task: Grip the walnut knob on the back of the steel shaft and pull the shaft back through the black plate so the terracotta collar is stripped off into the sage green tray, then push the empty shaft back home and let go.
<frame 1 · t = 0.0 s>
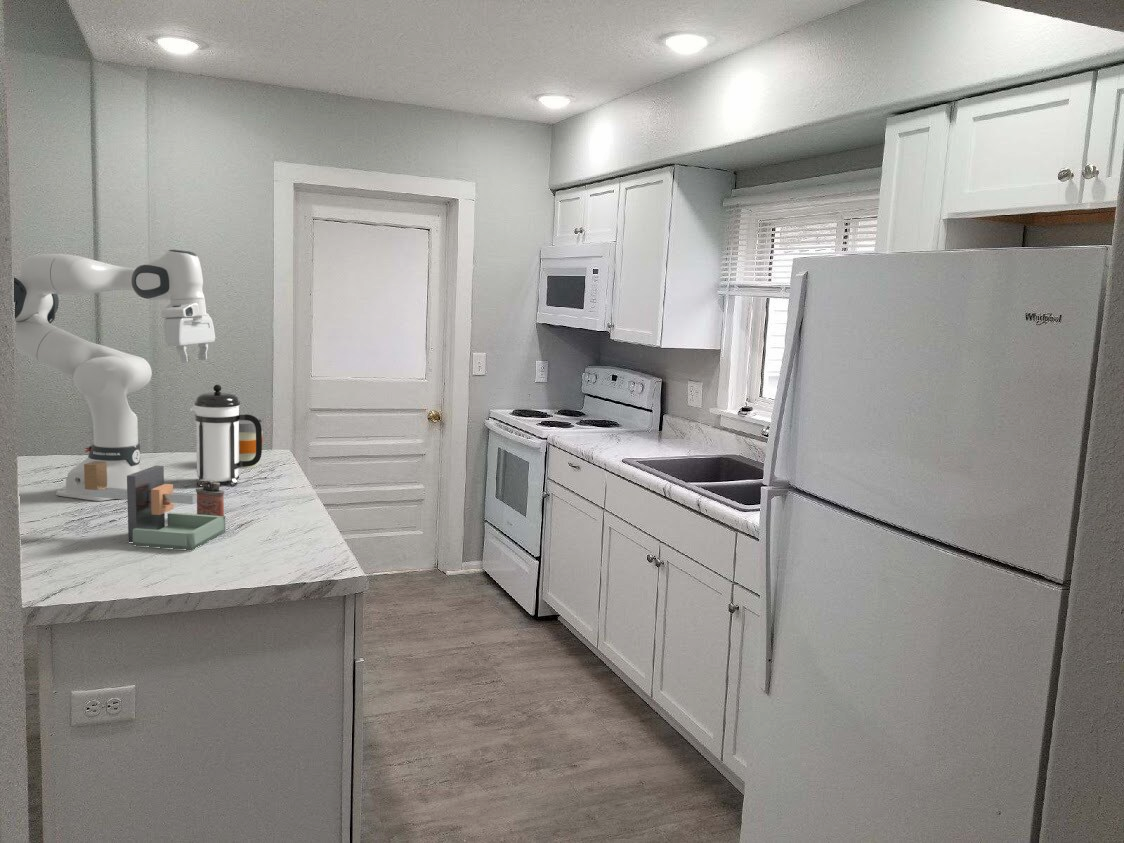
hand: (194, 361, 239), 39 cm above the countertop, tool pointing down, fingers open, 8 cm apart
shaft: (142, 482, 206), point 13 cm above the countertop, slide at 0.0 cm, touching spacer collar
bearing plate: (147, 536, 208), on the countertop
lighter: (210, 519, 226), on the countertop
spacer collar: (162, 511, 207), point 6 cm above the countertop, touching shaft
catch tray: (180, 539, 208), on the countertop
coffee press: (222, 482, 266), on the countertop
reusable coffee cup: (244, 465, 291), on the countertop
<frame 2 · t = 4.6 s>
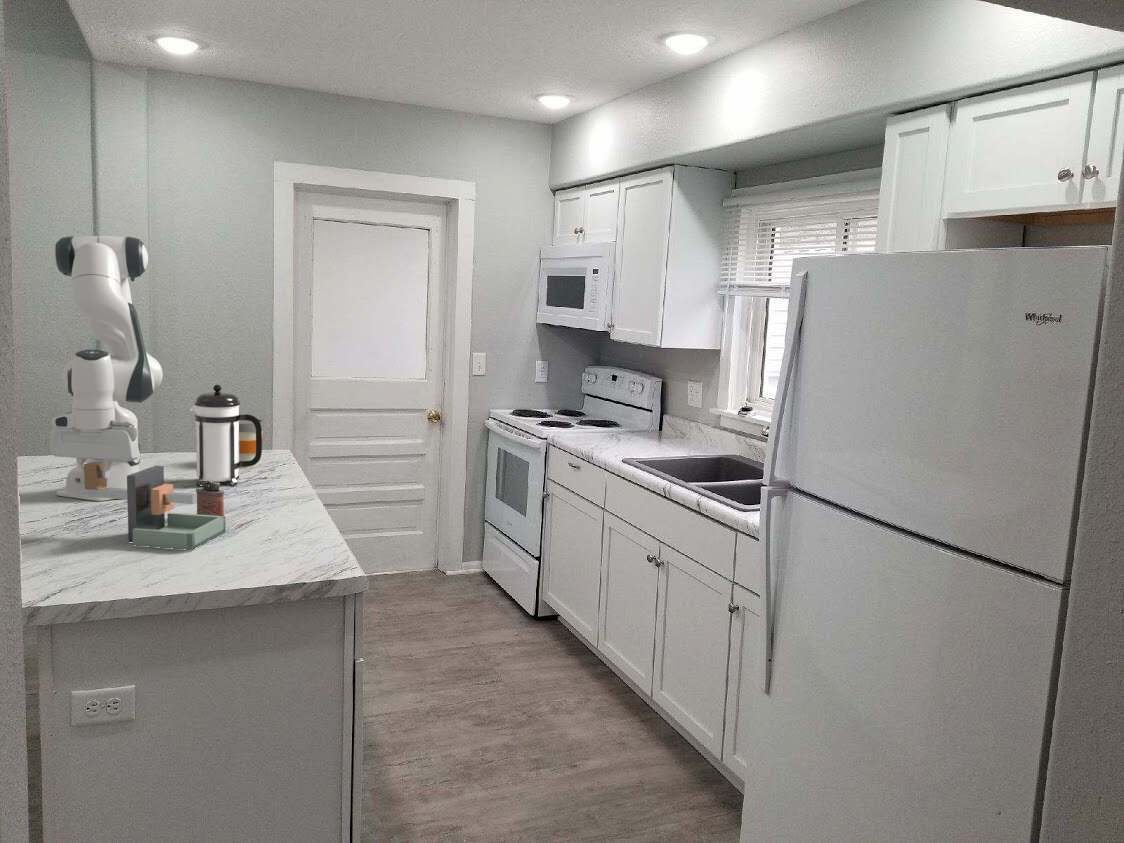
hand: (95, 477, 207), 14 cm above the countertop, tool pointing down, fingers closed on shaft, 3 cm apart
shaft: (141, 482, 206), point 13 cm above the countertop, slide at 0.0 cm, touching gripper, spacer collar
everything else where it was.
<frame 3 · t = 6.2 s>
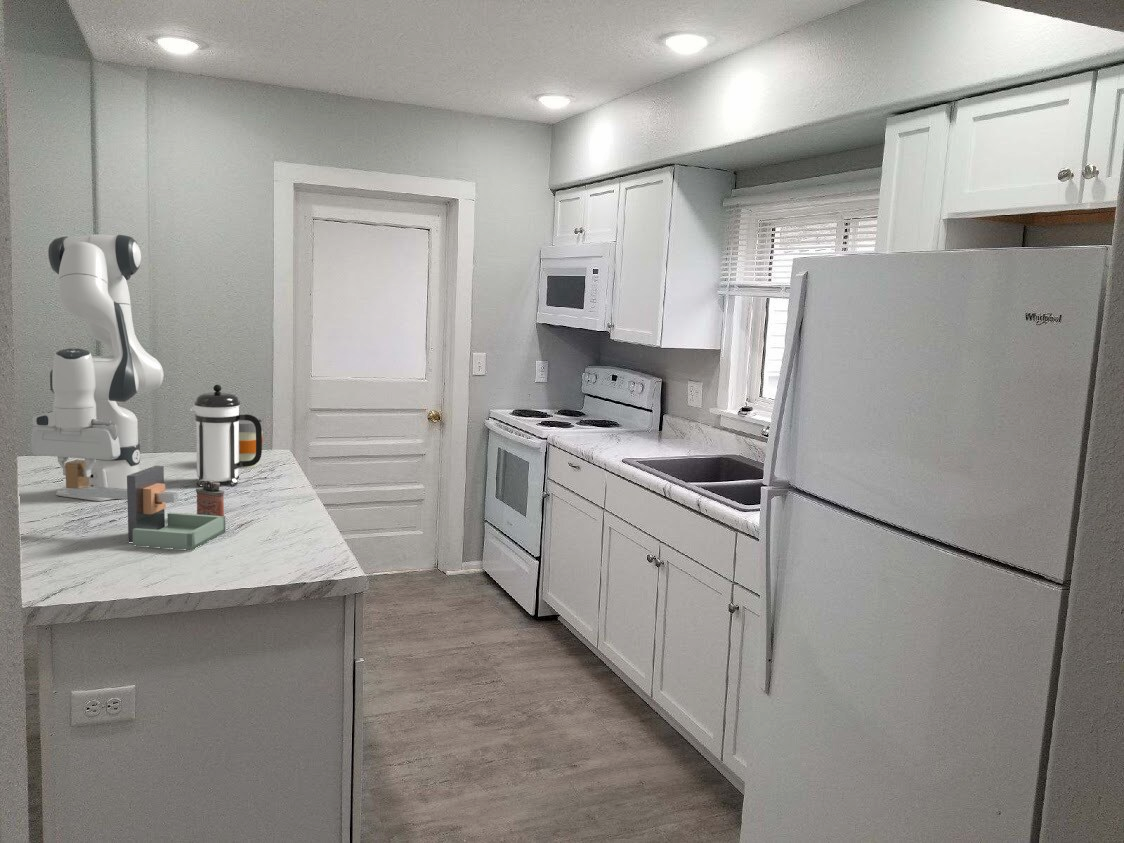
hand: (77, 475, 208), 14 cm above the countertop, tool pointing down, fingers closed on shaft, 3 cm apart
shaft: (123, 481, 207), point 13 cm above the countertop, slide at 4.7 cm, touching gripper
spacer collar: (154, 510, 207), point 6 cm above the countertop, touching bearing plate
everything else where it was.
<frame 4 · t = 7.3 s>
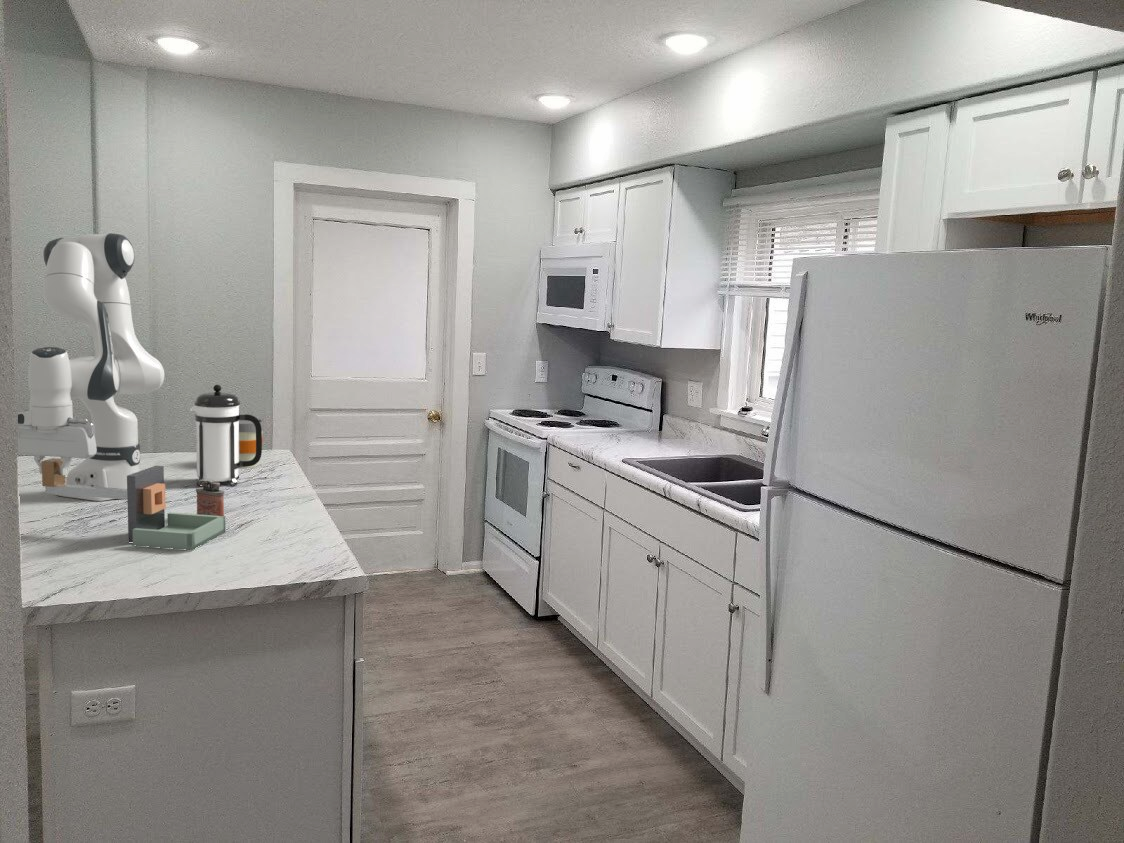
hand: (53, 474, 208), 14 cm above the countertop, tool pointing down, fingers closed on shaft, 3 cm apart
shaft: (99, 479, 207), point 13 cm above the countertop, slide at 10.6 cm, touching gripper, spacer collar
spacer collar: (154, 510, 207), point 6 cm above the countertop, touching shaft
everything else where it was.
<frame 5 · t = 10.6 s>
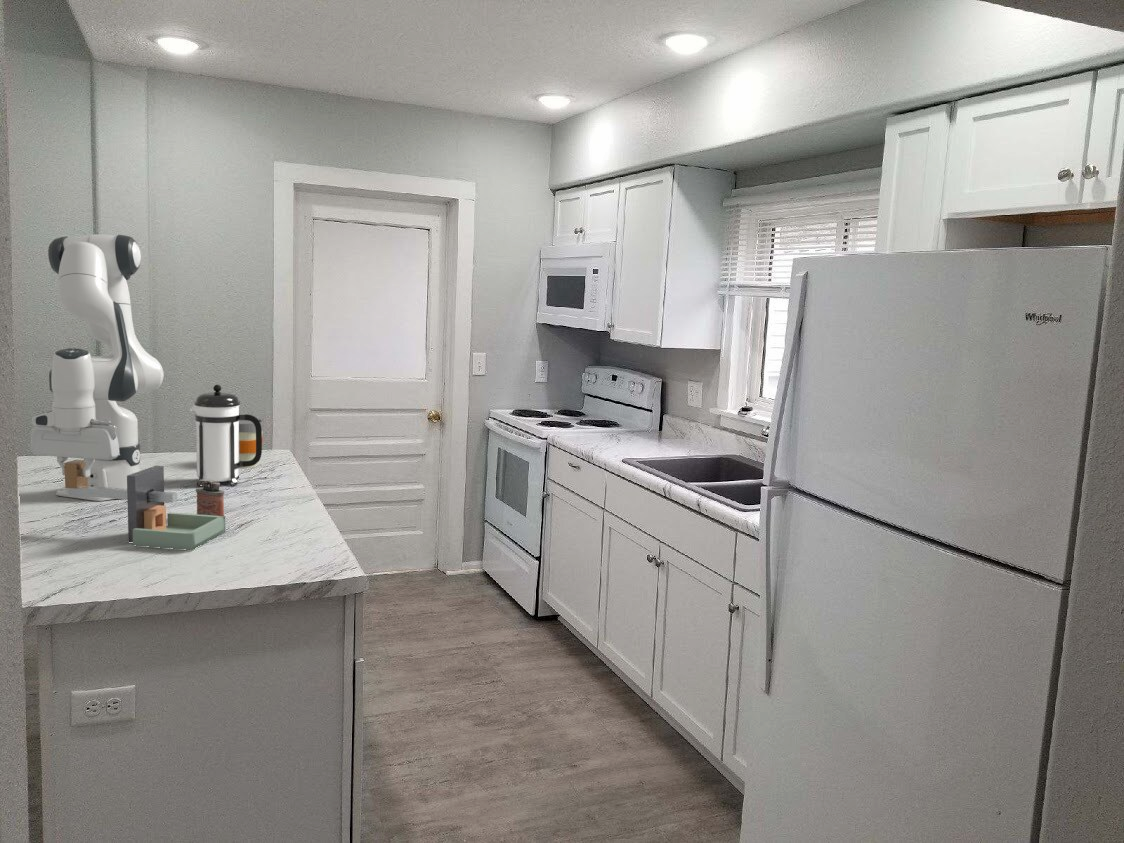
hand: (76, 475, 208), 14 cm above the countertop, tool pointing down, fingers closed on shaft, 3 cm apart
shaft: (122, 481, 207), point 13 cm above the countertop, slide at 4.9 cm, touching gripper
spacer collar: (155, 533, 208), point 1 cm above the countertop, touching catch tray
everything else where it was.
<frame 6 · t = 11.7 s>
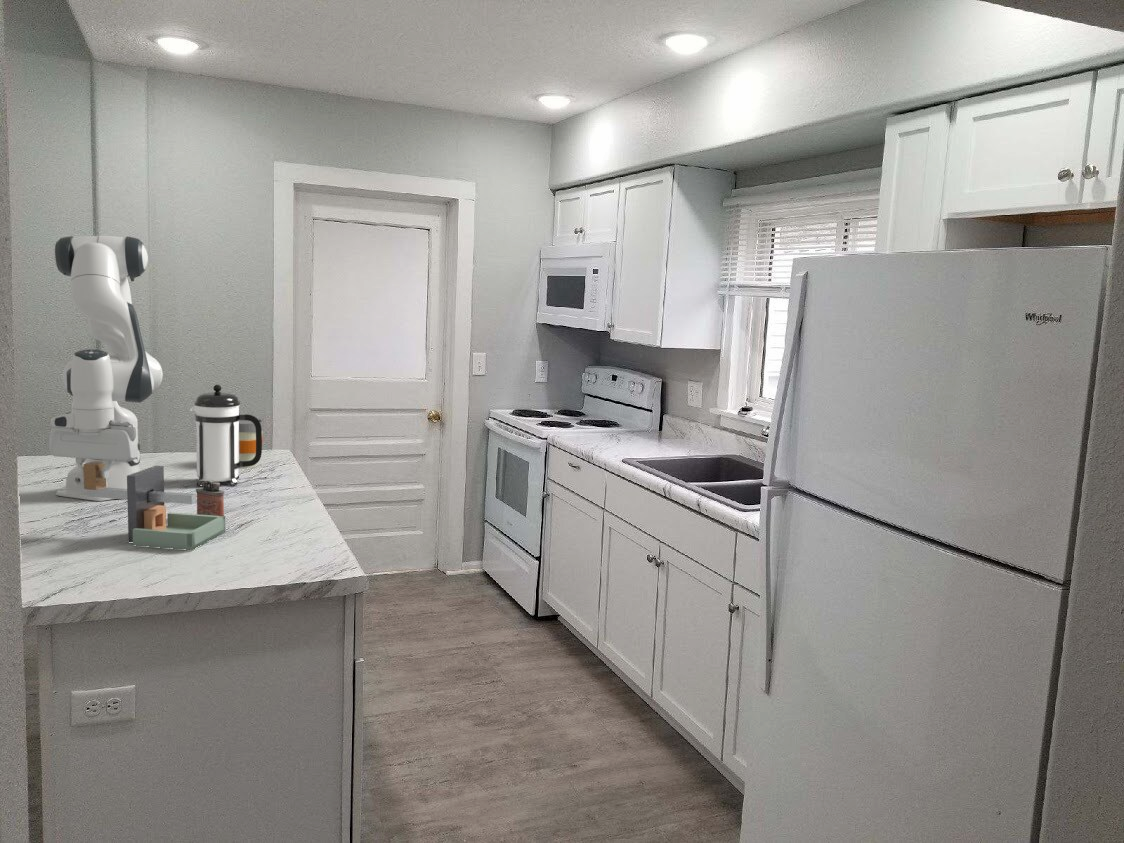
hand: (95, 477, 207), 14 cm above the countertop, tool pointing down, fingers closed on shaft, 3 cm apart
shaft: (141, 482, 206), point 13 cm above the countertop, slide at 0.2 cm, touching gripper
everything else where it was.
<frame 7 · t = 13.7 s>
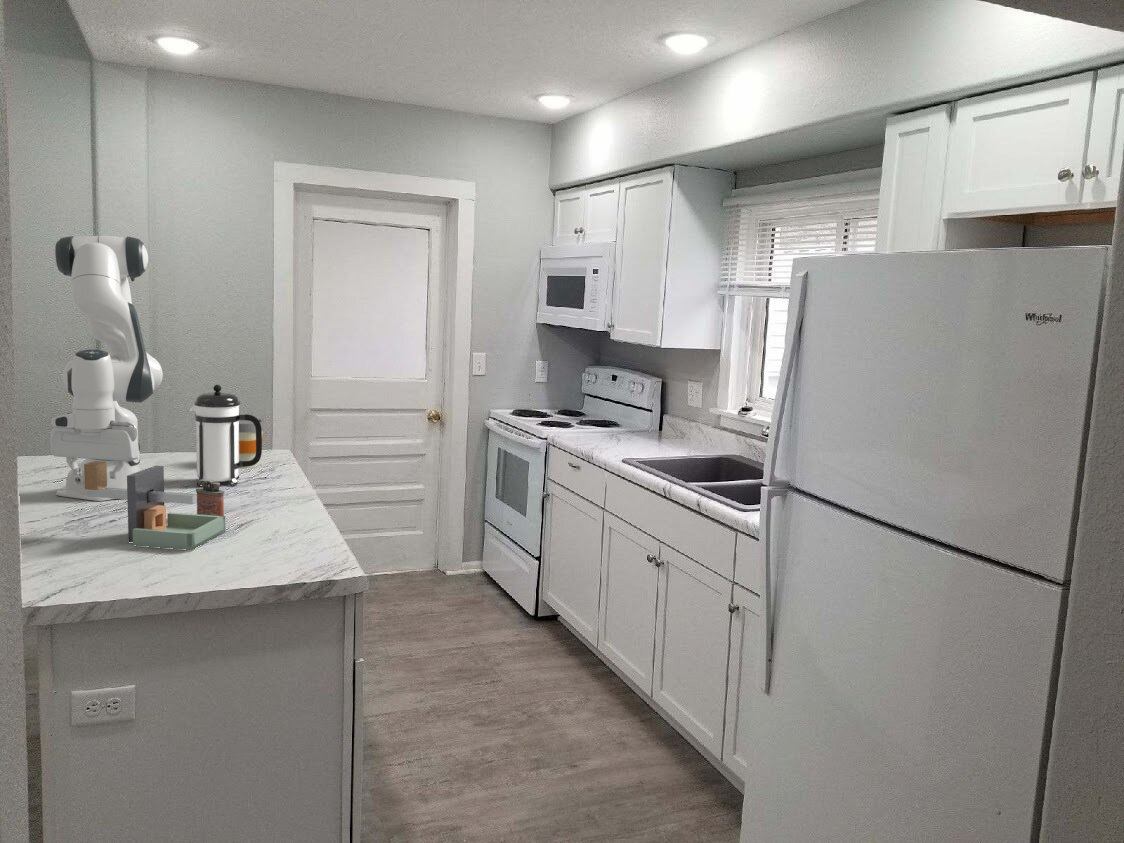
hand: (95, 477, 207), 14 cm above the countertop, tool pointing down, fingers open, 8 cm apart
shaft: (142, 482, 206), point 13 cm above the countertop, slide at 0.0 cm
everything else where it was.
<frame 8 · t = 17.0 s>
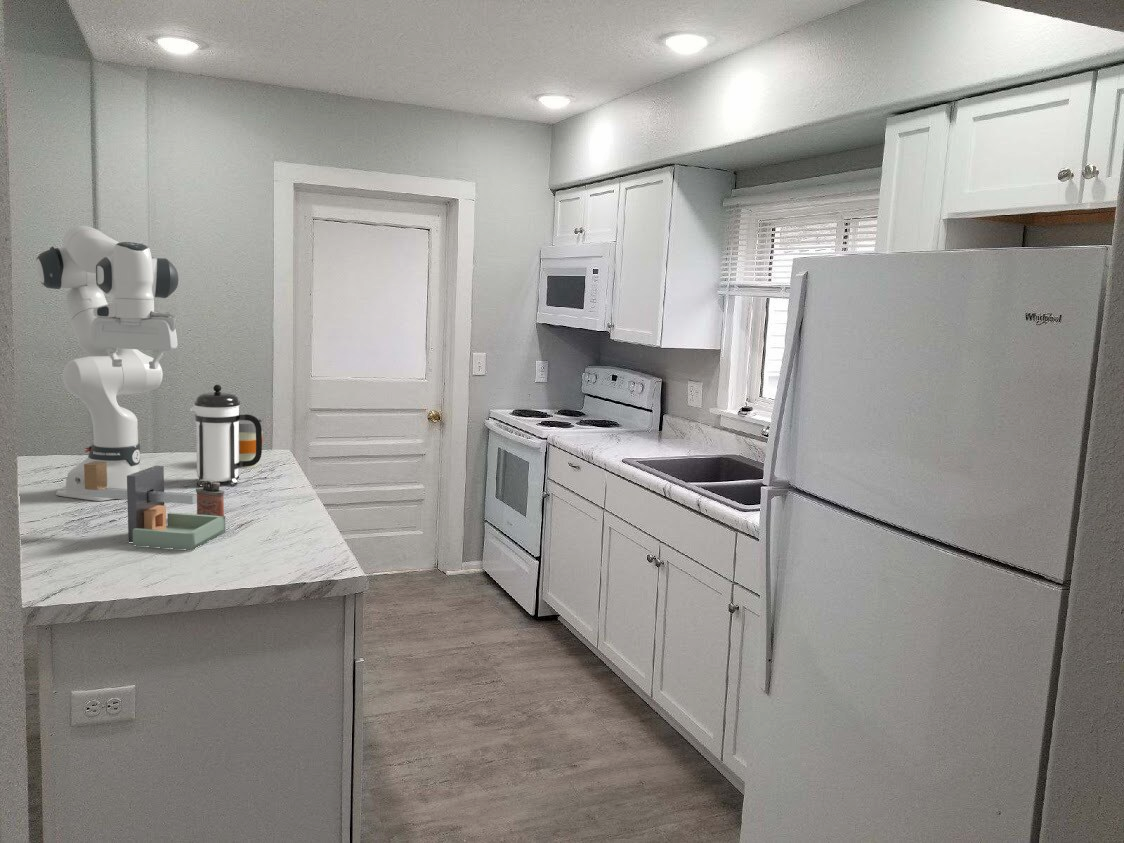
hand: (135, 367, 213), 39 cm above the countertop, tool pointing down, fingers open, 8 cm apart
nothing on the countertop moved.
at the end: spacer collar inside the target area (5.6 cm from its centre), point 1.0 cm above the countertop; shaft slide at 0.0 cm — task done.
